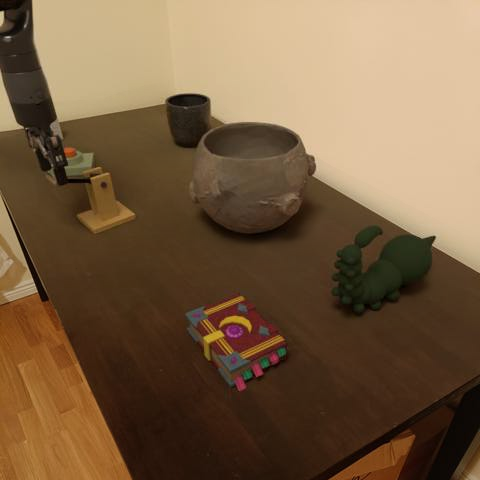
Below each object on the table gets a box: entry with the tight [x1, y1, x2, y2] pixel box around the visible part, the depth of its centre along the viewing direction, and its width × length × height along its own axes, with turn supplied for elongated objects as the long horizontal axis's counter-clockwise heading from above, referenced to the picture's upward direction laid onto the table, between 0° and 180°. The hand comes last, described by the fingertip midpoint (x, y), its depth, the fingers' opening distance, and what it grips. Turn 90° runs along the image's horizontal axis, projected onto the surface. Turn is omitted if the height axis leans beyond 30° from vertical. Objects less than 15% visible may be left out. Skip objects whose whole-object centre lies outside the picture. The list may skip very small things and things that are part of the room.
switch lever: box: [45, 172, 101, 188], centre depth 95 cm, size 12×5×2 cm, turn 130°
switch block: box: [47, 150, 96, 177], centre depth 124 cm, size 12×10×4 cm
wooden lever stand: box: [76, 166, 137, 235], centre depth 101 cm, size 11×9×12 cm
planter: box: [164, 92, 212, 148], centre depth 135 cm, size 14×14×13 cm
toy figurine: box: [330, 224, 437, 314], centre depth 78 cm, size 9×19×25 cm
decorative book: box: [184, 293, 288, 392], centre depth 72 cm, size 11×16×5 cm
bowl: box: [188, 121, 317, 235], centre depth 97 cm, size 27×29×20 cm
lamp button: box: [63, 147, 76, 158], centre depth 123 cm, size 4×4×2 cm
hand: (55, 177), depth 91 cm, fingers open, 8 cm apart
